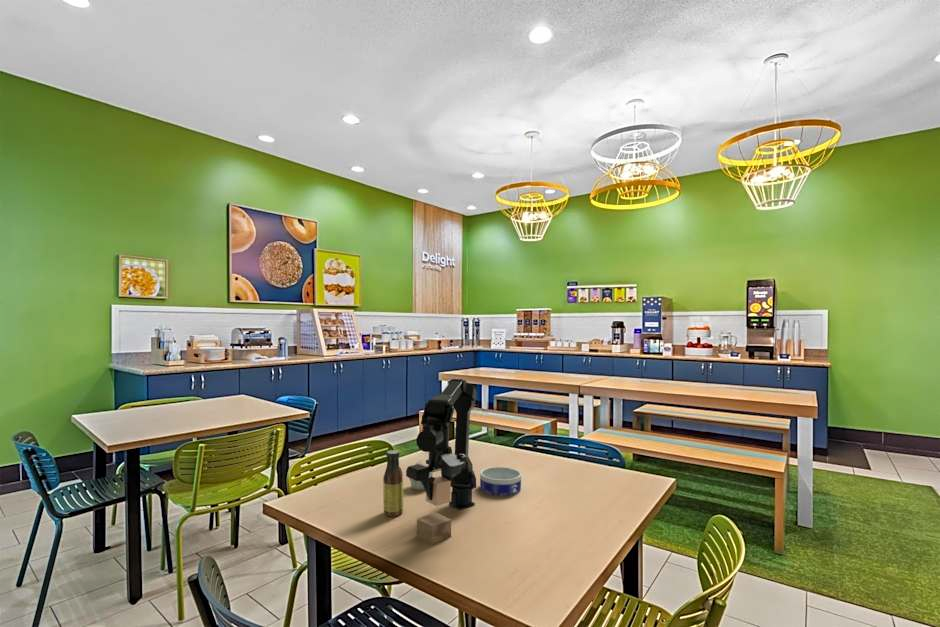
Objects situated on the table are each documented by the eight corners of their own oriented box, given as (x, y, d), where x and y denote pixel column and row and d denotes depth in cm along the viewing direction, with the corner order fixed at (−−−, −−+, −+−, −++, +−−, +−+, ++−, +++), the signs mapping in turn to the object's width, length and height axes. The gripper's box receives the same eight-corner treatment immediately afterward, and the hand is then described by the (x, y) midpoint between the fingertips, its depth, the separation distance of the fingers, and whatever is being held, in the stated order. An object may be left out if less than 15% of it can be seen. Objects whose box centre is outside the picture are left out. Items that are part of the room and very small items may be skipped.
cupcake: (434, 484, 175) (435, 457, 175) (430, 493, 166) (430, 465, 166) (410, 483, 176) (411, 456, 176) (405, 491, 167) (405, 464, 167)
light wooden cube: (439, 496, 136) (440, 476, 136) (450, 501, 132) (450, 480, 132) (425, 500, 132) (426, 479, 132) (436, 506, 128) (436, 484, 129)
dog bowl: (506, 500, 161) (506, 482, 161) (471, 490, 170) (471, 473, 170) (528, 488, 173) (528, 471, 173) (494, 479, 182) (495, 464, 182)
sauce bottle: (394, 508, 152) (395, 447, 152) (407, 513, 148) (408, 450, 148) (378, 514, 147) (379, 451, 147) (391, 519, 143) (392, 455, 143)
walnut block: (435, 529, 137) (435, 512, 137) (451, 537, 132) (451, 519, 132) (416, 536, 132) (416, 518, 132) (431, 545, 127) (432, 526, 127)
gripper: (429, 454, 120) (428, 515, 120) (481, 443, 133) (480, 498, 132) (405, 445, 129) (404, 502, 128) (456, 436, 141) (456, 487, 141)
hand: (437, 497), depth 132 cm, fingers closed on light wooden cube, 5 cm apart
